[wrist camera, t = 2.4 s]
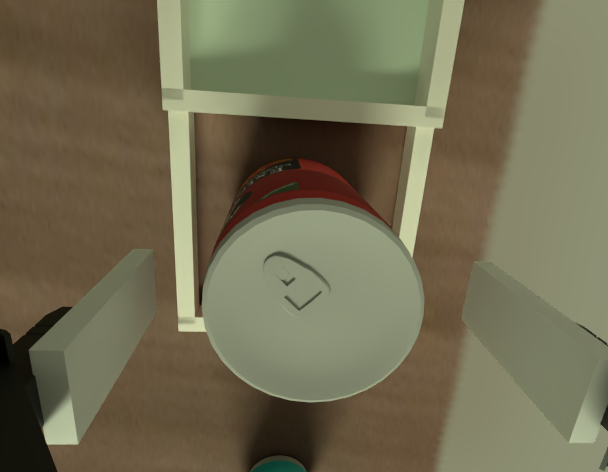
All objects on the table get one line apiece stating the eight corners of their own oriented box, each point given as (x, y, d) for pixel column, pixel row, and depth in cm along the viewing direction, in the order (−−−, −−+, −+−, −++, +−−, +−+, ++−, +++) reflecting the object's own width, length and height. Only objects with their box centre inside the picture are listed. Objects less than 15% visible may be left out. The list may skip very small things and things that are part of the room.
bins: (160, -238, 16) (141, -296, 14) (475, -191, 18) (506, -237, 15) (184, 318, 25) (174, 340, 23) (392, 321, 26) (404, 343, 24)
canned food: (274, 129, 22) (275, 153, 11) (385, 202, 23) (474, 282, 13) (208, 238, 23) (156, 346, 13) (316, 298, 25) (346, 433, 15)
